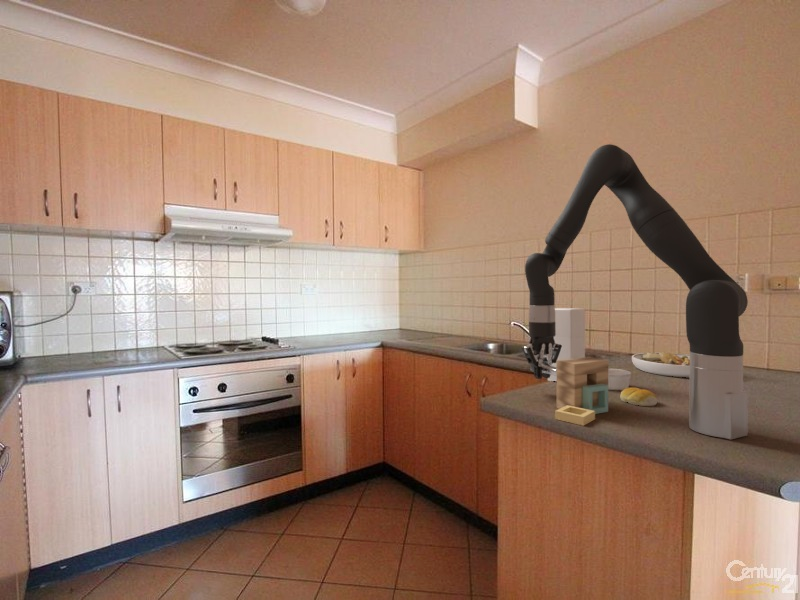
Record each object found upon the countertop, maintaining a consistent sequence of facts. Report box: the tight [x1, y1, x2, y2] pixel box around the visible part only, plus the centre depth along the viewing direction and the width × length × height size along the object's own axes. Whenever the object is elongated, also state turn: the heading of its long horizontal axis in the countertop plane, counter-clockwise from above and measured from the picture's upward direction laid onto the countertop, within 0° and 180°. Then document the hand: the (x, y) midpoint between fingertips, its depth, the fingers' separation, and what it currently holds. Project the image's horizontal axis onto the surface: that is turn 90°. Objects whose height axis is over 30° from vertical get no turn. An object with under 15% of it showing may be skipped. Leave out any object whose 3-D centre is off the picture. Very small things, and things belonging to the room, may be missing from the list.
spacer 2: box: [582, 384, 609, 415], centre depth 102 cm, size 2×7×7 cm, turn 113°
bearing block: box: [556, 356, 609, 409], centre depth 106 cm, size 6×12×13 cm, turn 113°
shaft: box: [528, 360, 588, 381], centre depth 114 cm, size 19×3×3 cm, turn 23°
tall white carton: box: [547, 307, 586, 382], centre depth 137 cm, size 9×9×25 cm
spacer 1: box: [554, 405, 596, 427], centre depth 97 cm, size 7×7×2 cm
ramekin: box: [608, 367, 632, 391], centre depth 129 cm, size 11×11×5 cm
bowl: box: [631, 351, 690, 379], centre depth 152 cm, size 30×30×8 cm
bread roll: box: [620, 387, 659, 407], centre depth 112 cm, size 8×9×4 cm
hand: (542, 377), depth 120 cm, fingers closed on shaft, 2 cm apart
